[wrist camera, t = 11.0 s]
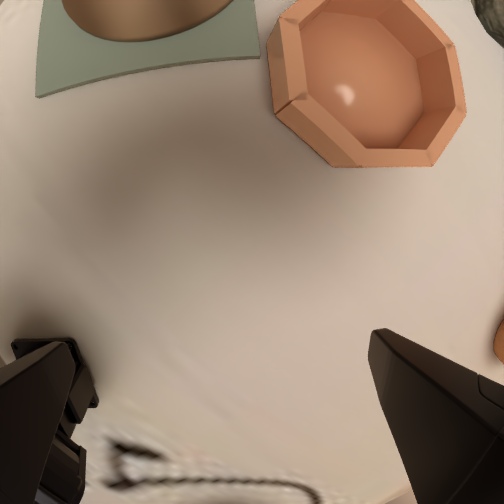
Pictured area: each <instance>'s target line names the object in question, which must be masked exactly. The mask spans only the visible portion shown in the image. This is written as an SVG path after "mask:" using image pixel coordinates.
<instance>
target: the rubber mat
mask: <svg viewBox="0 0 504 504" xmlns="http://www.w3.org/2000/svg"><path fill="white" fill-rule="evenodd" d="M259 58H260V47H259V39H258V30H257V22H256V14H255V6H254V0H233V1H232V2H231V3H230V4H229V5H228V6H227V7H226V8H225V9H224V10H222V11H221V12H220V13H218V14H217V15H216V16H214V17H212V18H211V19H209V20H208V21H206V22H204V23H202V24H200V25H198V26H196V27H194V28H192V29H190V30H187V31H185V32H182V33H179V34H176V35H173V36H170V37H166V38H162V39H157V40H152V41H144V42H114V41H109V40H104V39H101V38H98V37H95V36H93V35H91V34H89V33H87V32H85V31H84V30H82V29H81V28H80V27H78V25H77V24H76V23H75V22H74V21H73V20H72V19H71V18H70V17H69V16H68V14H67V13H66V11H65V9H64V7H63V4H62V0H44V2H43V8H42V15H41V22H40V30H39V40H38V51H37V65H36V92H35V97H37V98H42V97H45V96H48V95H51V94H54V93H57V92H60V91H64V90H67V89H70V88H74V87H77V86H81V85H84V84H88V83H92V82H96V81H100V80H104V79H108V78H112V77H117V76H121V75H126V74H131V73H136V72H141V71H147V70H152V69H158V68H165V67H171V66H178V65H186V64H194V63H203V62H213V61H225V60H240V59H259Z"/></svg>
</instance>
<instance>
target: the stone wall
mask: <svg viewBox="0 0 504 504" xmlns="http://www.w3.org/2000/svg"><path fill="white" fill-rule="evenodd" d="M471 2H472V5H473V8H474V10H475V13H476V15H477V17H478V19H479V20H480V22H481V24H482V25H483V27H484V29H485V30H486V32H487V33H488V34H489V35H490V36H491V37H492V38H493V39H494V40H495V41H496V42H498V43H499V44H500V45H501V46H502V47H503V48H504V0H471Z"/></svg>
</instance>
